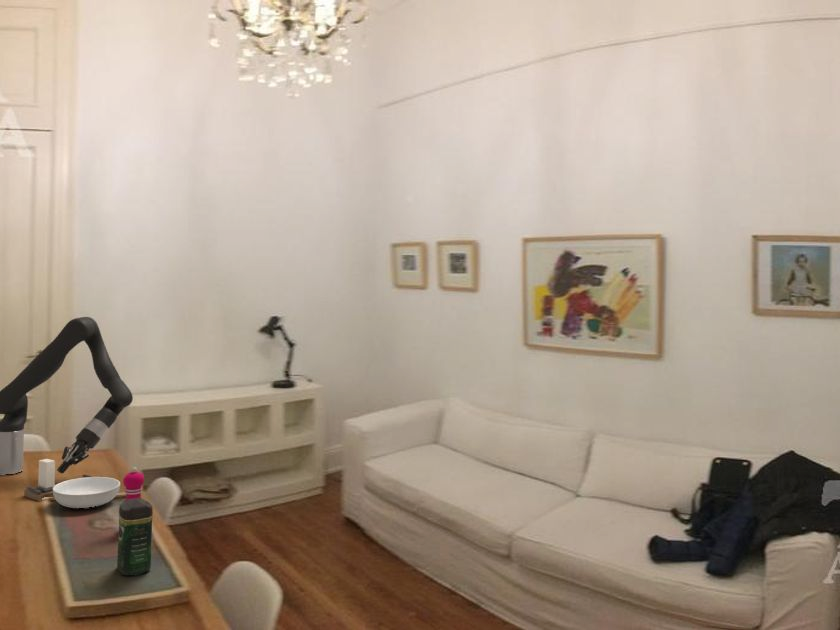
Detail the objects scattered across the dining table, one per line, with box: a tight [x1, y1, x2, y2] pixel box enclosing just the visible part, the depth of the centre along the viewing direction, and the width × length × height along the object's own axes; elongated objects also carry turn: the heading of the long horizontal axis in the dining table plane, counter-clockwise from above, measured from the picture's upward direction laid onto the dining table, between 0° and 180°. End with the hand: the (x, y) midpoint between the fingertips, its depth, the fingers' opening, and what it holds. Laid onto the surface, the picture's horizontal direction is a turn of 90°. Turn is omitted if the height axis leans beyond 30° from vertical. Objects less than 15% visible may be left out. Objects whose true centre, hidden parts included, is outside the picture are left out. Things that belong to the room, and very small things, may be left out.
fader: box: [34, 458, 56, 491], centre depth 228 cm, size 4×6×10 cm
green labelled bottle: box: [116, 498, 154, 576], centre depth 171 cm, size 10×8×19 cm
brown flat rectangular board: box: [23, 474, 93, 502], centre depth 234 cm, size 22×10×3 cm, turn 150°
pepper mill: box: [122, 466, 145, 500], centre depth 198 cm, size 7×7×20 cm
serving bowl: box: [53, 476, 121, 509], centre depth 221 cm, size 21×21×7 cm
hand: (59, 471), depth 232 cm, fingers closed
